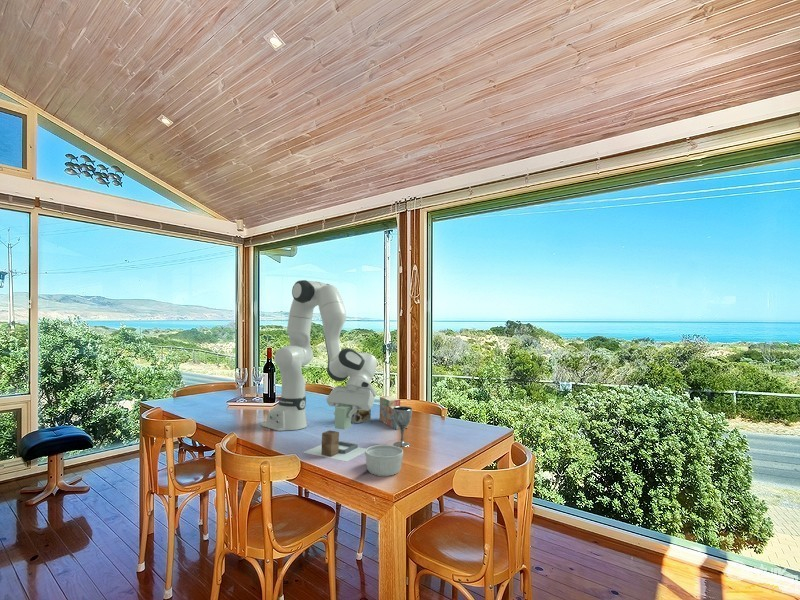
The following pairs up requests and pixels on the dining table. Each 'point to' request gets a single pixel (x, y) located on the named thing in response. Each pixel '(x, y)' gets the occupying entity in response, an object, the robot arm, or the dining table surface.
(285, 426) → the robot arm
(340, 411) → the sage block
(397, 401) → the colourful cardboard box
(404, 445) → the wine glass
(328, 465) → the dining table surface
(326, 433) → the walnut block
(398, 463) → the ramekin
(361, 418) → the coffee box
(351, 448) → the board
